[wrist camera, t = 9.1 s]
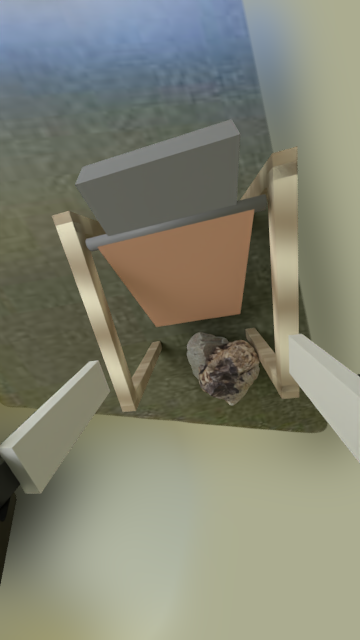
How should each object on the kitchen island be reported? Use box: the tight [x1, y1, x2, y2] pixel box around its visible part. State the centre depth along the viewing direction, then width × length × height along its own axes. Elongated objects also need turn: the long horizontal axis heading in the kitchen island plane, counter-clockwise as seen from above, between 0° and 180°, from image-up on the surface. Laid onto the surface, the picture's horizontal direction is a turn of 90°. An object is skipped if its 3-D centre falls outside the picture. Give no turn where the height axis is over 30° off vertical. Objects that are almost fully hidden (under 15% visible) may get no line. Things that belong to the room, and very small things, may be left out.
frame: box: [52, 147, 299, 412], centre depth 23 cm, size 20×18×15 cm
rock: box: [187, 332, 260, 406], centre depth 28 cm, size 9×12×10 cm
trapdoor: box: [75, 119, 267, 327], centre depth 19 cm, size 19×14×3 cm
